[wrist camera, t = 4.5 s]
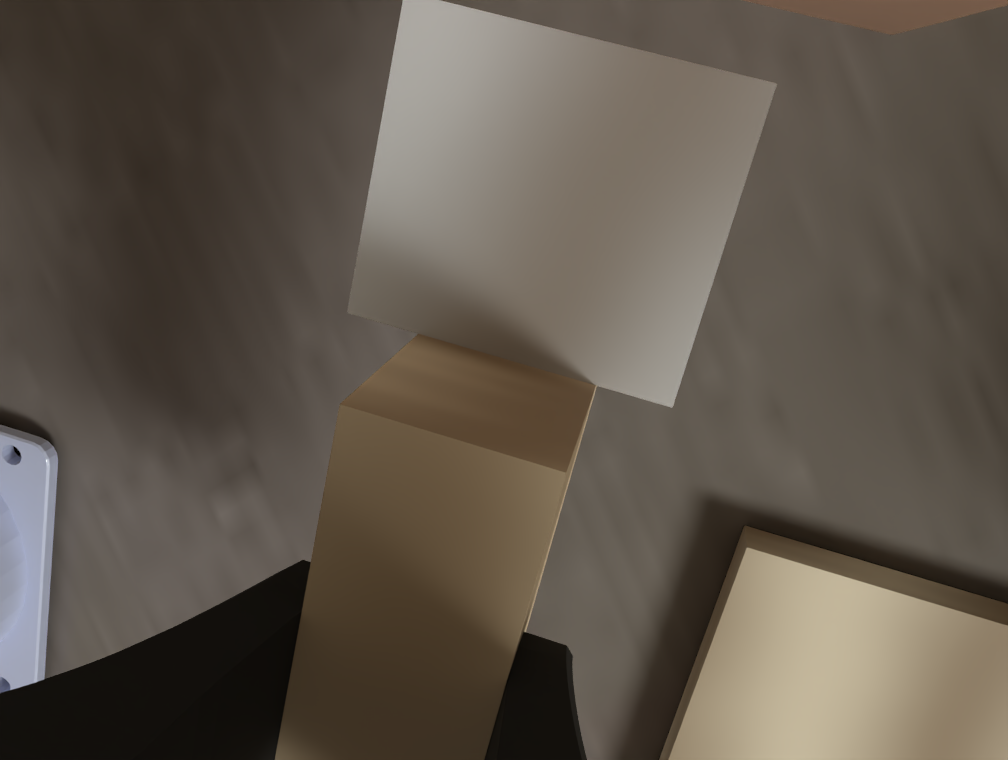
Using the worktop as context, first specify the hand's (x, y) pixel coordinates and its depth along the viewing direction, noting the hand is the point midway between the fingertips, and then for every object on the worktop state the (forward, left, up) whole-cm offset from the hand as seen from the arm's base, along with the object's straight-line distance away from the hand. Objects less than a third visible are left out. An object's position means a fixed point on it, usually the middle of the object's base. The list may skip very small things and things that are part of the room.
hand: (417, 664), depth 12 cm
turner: (0, +1, -2) cm, 2 cm away
